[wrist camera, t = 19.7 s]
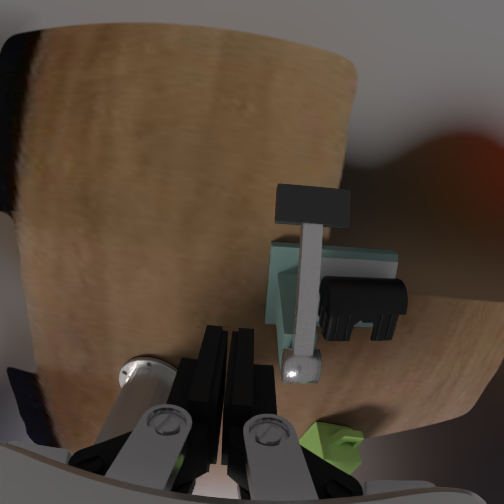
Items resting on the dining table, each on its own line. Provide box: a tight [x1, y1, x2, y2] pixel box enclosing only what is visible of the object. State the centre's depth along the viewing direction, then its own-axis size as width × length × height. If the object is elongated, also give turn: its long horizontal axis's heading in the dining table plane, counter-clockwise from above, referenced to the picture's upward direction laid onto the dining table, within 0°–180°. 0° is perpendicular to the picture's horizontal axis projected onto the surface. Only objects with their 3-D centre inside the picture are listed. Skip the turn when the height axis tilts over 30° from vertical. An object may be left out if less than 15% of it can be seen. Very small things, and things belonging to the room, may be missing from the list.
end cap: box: [318, 276, 408, 341], centre depth 38 cm, size 10×7×7 cm
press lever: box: [275, 184, 351, 383], centre depth 26 cm, size 16×6×3 cm, turn 176°
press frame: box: [265, 242, 399, 369], centre depth 36 cm, size 11×17×16 cm, turn 87°
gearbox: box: [299, 422, 364, 475], centre depth 50 cm, size 18×10×10 cm, turn 158°
